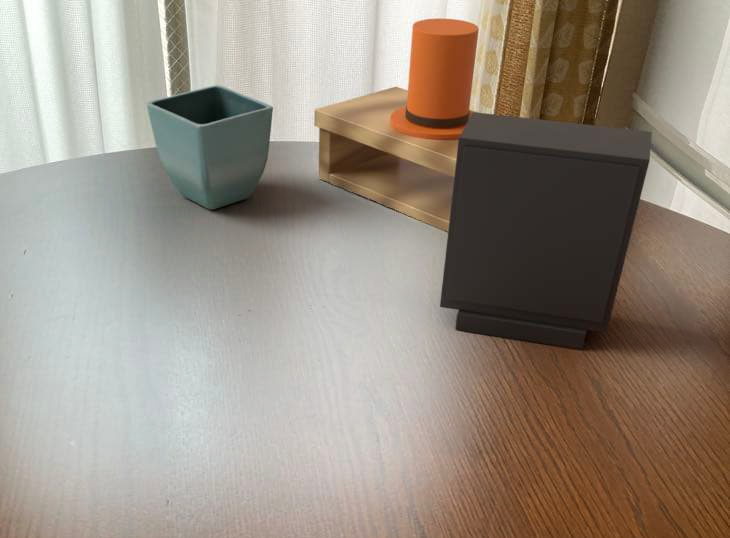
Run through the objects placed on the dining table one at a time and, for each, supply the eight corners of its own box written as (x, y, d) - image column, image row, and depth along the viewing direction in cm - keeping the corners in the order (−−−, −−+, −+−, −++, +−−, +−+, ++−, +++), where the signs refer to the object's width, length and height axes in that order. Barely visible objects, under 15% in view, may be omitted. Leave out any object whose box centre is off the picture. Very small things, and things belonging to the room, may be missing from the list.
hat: (456, 105, 94) (467, 11, 88) (499, 134, 88) (513, 35, 82) (375, 114, 91) (380, 17, 86) (413, 144, 85) (421, 42, 79)
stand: (553, 212, 91) (566, 139, 87) (476, 247, 85) (486, 170, 80) (391, 153, 103) (395, 86, 98) (313, 179, 97) (314, 109, 92)
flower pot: (206, 223, 88) (199, 125, 82) (153, 196, 93) (143, 101, 87) (277, 200, 92) (275, 106, 86) (223, 175, 97) (218, 83, 91)
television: (601, 353, 71) (649, 162, 61) (436, 327, 74) (457, 139, 64) (607, 312, 76) (652, 129, 67) (452, 288, 79) (474, 109, 69)
